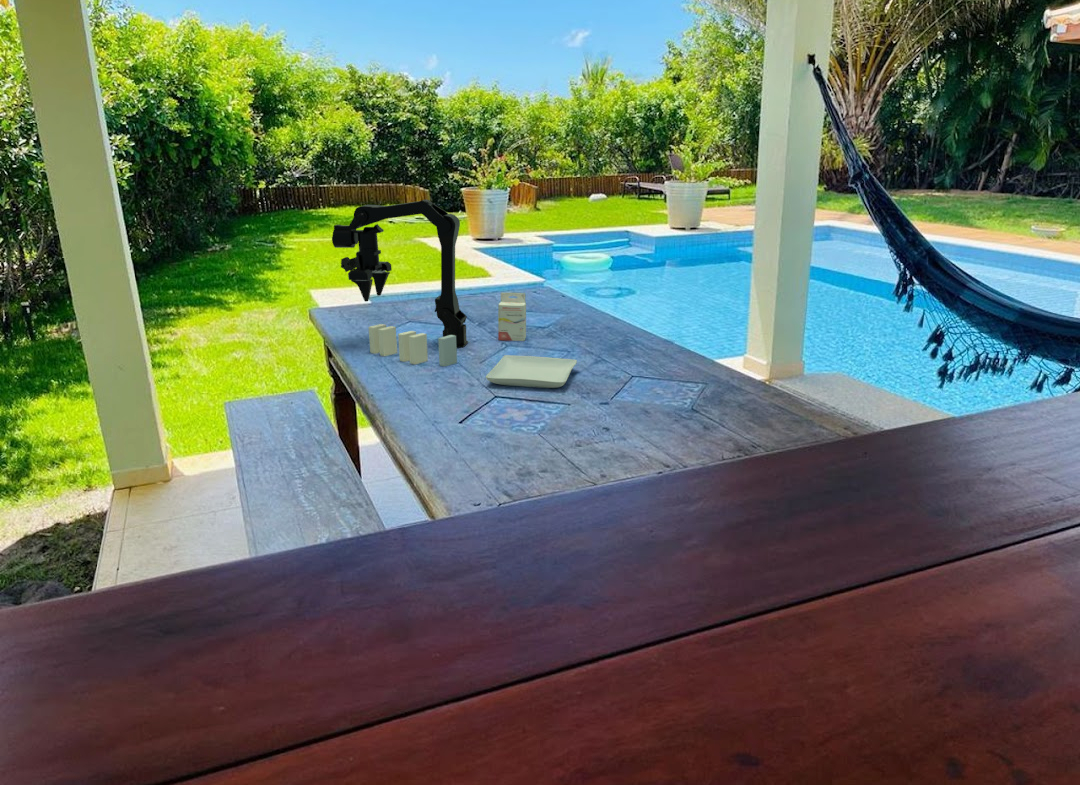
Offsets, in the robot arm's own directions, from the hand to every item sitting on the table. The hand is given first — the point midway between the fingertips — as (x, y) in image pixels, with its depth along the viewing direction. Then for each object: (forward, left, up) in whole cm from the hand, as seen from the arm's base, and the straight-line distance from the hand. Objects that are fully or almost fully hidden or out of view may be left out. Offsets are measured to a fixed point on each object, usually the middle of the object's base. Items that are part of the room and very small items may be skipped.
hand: (372, 298), depth 238 cm
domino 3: (-17, +17, -14) cm, 27 cm away
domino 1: (-5, +10, -14) cm, 18 cm away
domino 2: (-9, +12, -14) cm, 21 cm away
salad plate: (-56, +28, -15) cm, 64 cm away
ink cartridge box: (-42, -12, -14) cm, 46 cm away
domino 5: (-29, +20, -14) cm, 38 cm away
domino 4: (-20, +19, -14) cm, 31 cm away
